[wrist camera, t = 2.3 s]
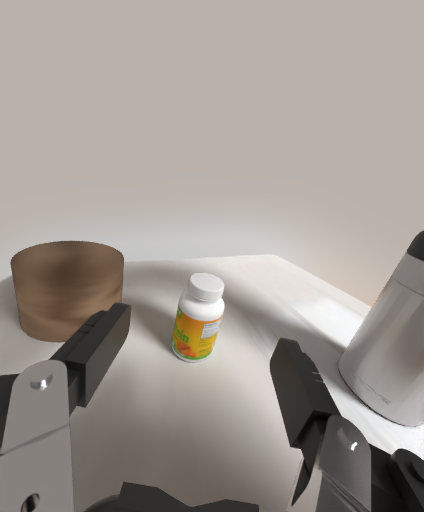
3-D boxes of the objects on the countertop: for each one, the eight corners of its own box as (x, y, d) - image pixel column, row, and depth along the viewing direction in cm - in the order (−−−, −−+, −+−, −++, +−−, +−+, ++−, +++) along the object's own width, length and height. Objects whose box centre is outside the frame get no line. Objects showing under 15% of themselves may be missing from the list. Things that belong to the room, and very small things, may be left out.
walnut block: (117, 285, 34) (119, 242, 31) (124, 332, 26) (128, 277, 23) (33, 291, 29) (26, 239, 26) (6, 352, 20) (-9, 284, 17)
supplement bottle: (163, 337, 26) (174, 272, 22) (197, 326, 29) (211, 267, 26) (184, 371, 22) (201, 299, 19) (220, 353, 26) (240, 289, 22)
